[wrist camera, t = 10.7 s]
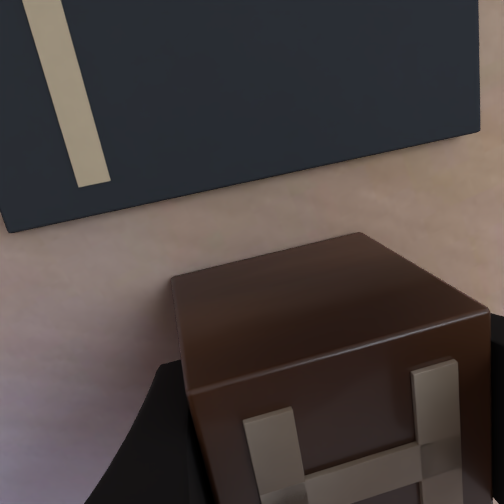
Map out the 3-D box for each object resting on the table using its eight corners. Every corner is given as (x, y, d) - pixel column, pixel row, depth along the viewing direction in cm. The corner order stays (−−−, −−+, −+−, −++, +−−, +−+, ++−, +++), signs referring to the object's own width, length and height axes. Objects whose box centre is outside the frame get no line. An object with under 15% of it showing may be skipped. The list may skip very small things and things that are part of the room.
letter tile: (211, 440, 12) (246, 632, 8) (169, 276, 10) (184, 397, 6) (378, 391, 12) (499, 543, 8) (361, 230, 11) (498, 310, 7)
